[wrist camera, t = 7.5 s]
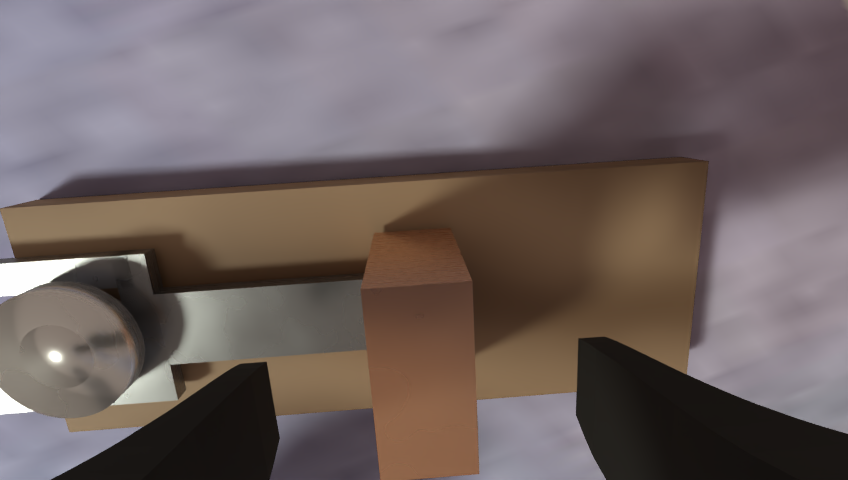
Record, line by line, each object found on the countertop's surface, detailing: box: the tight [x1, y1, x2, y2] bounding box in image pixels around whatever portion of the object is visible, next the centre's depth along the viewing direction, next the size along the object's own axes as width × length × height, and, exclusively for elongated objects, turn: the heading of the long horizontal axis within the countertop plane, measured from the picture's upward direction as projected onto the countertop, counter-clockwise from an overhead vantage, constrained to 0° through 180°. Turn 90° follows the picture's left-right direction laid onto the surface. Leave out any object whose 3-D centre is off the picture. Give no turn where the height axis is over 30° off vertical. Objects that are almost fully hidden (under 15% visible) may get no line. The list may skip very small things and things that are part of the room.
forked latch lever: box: [0, 228, 479, 480], centre depth 13 cm, size 5×16×5 cm, turn 93°
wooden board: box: [0, 157, 709, 432], centre depth 16 cm, size 8×22×2 cm, turn 93°
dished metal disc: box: [0, 281, 145, 418], centre depth 14 cm, size 4×4×2 cm
